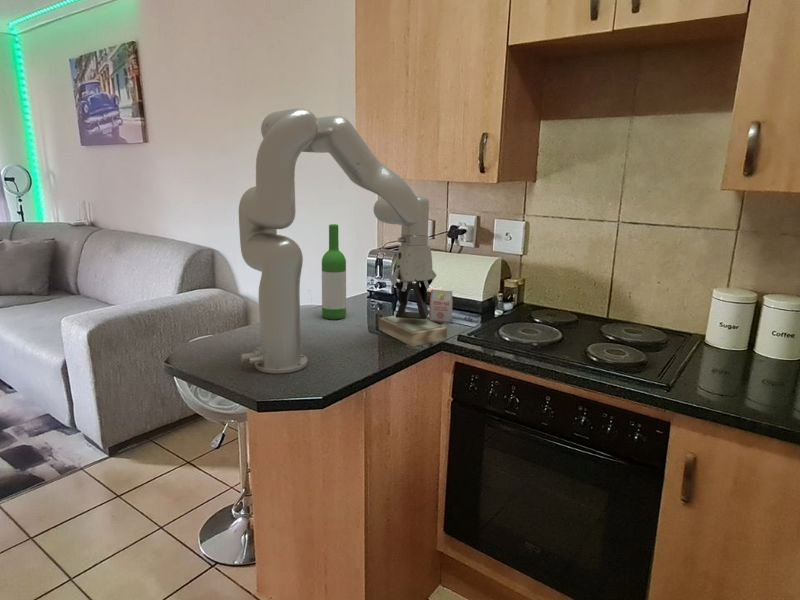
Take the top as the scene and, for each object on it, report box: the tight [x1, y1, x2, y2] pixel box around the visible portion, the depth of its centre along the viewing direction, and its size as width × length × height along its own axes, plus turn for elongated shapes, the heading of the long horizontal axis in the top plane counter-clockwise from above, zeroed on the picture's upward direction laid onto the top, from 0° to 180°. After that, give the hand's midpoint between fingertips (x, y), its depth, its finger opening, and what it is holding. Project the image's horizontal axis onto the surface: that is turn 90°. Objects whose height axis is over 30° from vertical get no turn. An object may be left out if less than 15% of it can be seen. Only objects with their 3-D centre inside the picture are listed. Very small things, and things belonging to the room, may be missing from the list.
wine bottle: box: [321, 224, 347, 320], centre depth 170 cm, size 8×8×30 cm
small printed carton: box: [428, 289, 454, 324], centre depth 172 cm, size 4×7×10 cm, turn 74°
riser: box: [378, 315, 448, 347], centre depth 156 cm, size 12×18×4 cm, turn 32°
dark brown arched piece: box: [395, 279, 429, 319], centre depth 154 cm, size 9×6×12 cm, turn 80°
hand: (412, 302), depth 154 cm, fingers closed on dark brown arched piece, 6 cm apart
